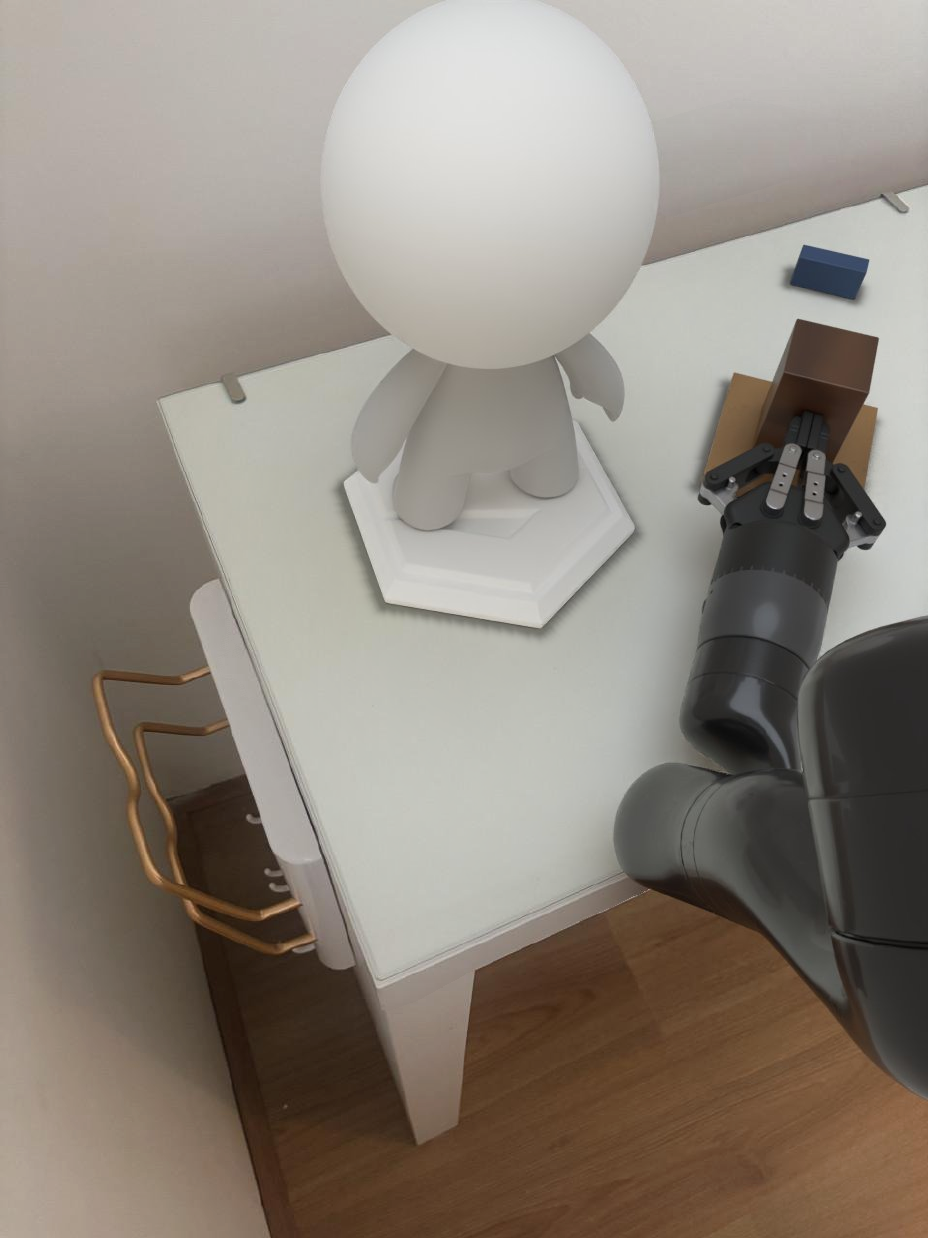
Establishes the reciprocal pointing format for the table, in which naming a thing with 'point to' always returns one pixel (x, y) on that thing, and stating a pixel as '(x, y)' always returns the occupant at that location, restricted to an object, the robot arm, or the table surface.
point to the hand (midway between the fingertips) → (809, 420)
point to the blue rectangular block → (829, 271)
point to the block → (804, 399)
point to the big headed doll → (488, 297)
